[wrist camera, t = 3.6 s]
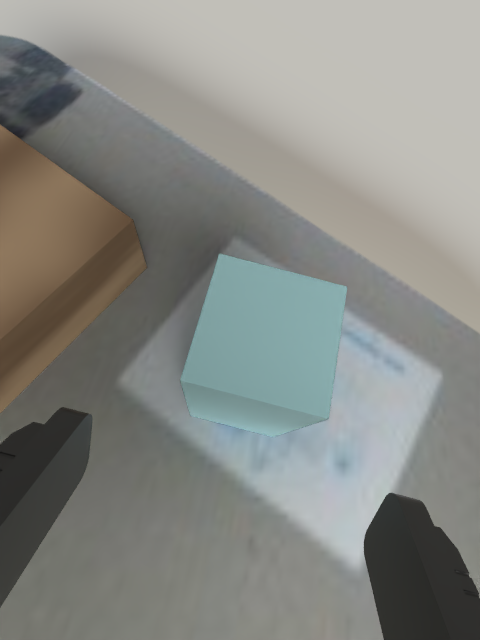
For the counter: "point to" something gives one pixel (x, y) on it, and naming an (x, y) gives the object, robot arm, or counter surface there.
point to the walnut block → (53, 261)
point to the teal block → (264, 349)
